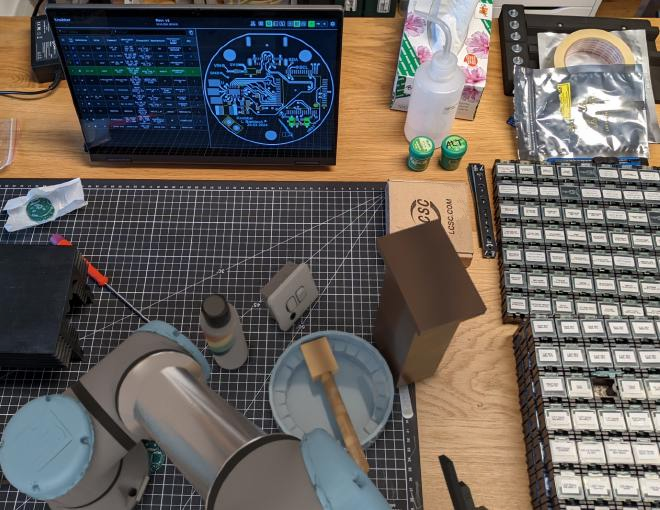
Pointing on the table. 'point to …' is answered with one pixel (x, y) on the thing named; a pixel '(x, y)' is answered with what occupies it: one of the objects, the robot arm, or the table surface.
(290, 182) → the table surface
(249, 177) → the table surface
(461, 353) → the table surface
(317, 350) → the wooden mallet
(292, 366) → the bowl
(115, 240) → the table surface
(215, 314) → the lotion bottle
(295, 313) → the electrical switch
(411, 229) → the stand
